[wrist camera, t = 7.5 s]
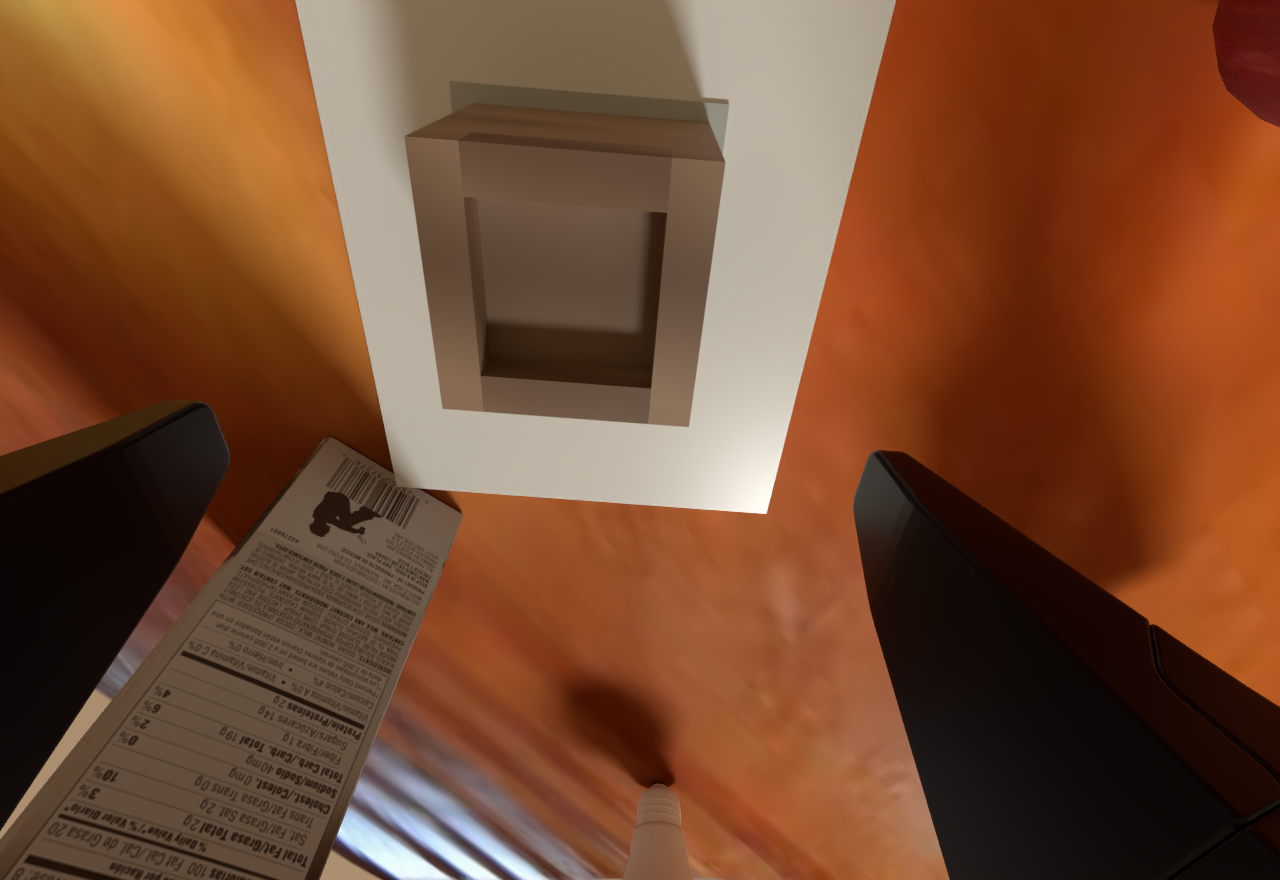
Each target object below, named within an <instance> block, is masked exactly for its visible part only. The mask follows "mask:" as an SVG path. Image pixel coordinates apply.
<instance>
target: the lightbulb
mask: <svg viewBox="0 0 1280 880" xmlns="http://www.w3.org/2000/svg"><path fill="white" fill-rule="evenodd" d="M680 811H681V809H680V801H679V797H678V795H677V794H676V793H675V792H674V791H672V790H670V789H668V788H667V786H666V785H664V784H654V785H652V786H651V788H649V789H646V790H645V791H643V792H642V793H641V794H640V796H639V801H638V810H637V825H636V829H635V830H634V832H633V834H632V842H631V851H630V856H629V861H628V865H627V868H626V871H625V874H624V876H623V879H622V880H694V878H693V875H692V872H691V869H690V866H689V861H688V856H687V848H686V837H685V834H684V832H683V831H682V829H681V814H680Z"/></svg>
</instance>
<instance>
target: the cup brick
mask: <svg viewBox="0 0 1280 880" xmlns="http://www.w3.org/2000/svg"><path fill="white" fill-rule="evenodd" d="M404 138H405V145H406V152H407V159H408V167H409V174H410V181H411V188H412V195H413V202H414V209H415V216H416V224H417V231H418V238H419V245H420V252H421V259H422V266H423V273H424V281H425V288H426V295H427V302H428V309H429V316H430V323H431V330H432V338H433V345H434V352H435V359H436V366H437V373H438V380H439V387H440V395H441V402H442V409H451V410H465V411H478V412H492V413H505V414H518V415H532V416H545V417H559V418H572V419H586V420H599V421H612V422H626V423H639V424H653V425H666V426H680V427H689V423H690V416H691V409H692V401H693V394H694V387H695V380H696V372H697V365H698V358H699V351H700V343H701V336H702V329H703V322H704V314H705V307H706V300H707V293H708V285H709V278H710V271H711V264H712V257H713V249H714V242H715V235H716V228H717V220H718V213H719V206H720V199H721V191H722V184H723V177H724V170H725V160H724V157H723V155H722V152H721V150H720V147H719V145H718V143H717V140H716V138H715V135H714V133H713V130H712V128H711V126H710V123H709V122H698V121H686V120H674V119H661V118H649V117H637V116H624V115H612V114H600V113H587V112H575V111H563V110H551V109H538V108H526V107H514V106H501V105H489V104H477V103H472V104H470V105H468V106H466V107H464V108H462V109H460V110H458V111H456V112H454V113H452V114H450V115H447V116H445V117H443V118H441V119H439V120H437V121H435V122H433V123H431V124H429V125H427V126H425V127H423V128H420V129H418V130H416V131H414V132H412V133H410V134H408V135H406V136H404Z"/></svg>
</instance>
